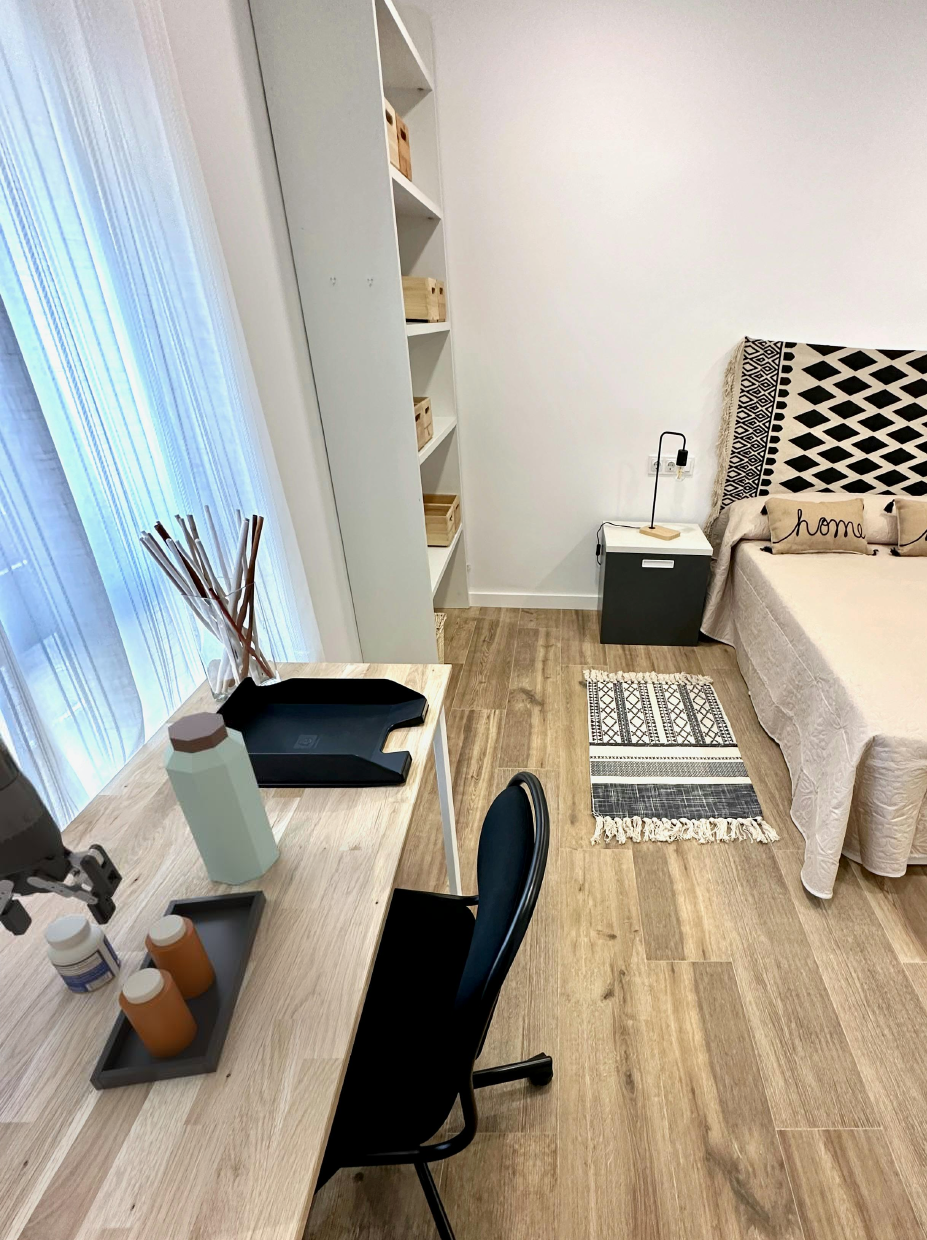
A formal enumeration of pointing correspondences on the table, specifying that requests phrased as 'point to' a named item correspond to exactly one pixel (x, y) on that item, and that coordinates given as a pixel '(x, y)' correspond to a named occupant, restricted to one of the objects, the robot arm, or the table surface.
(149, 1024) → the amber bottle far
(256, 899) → the tray
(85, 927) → the pill bottle
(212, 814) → the water bottle
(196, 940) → the amber bottle mid
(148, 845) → the table surface
